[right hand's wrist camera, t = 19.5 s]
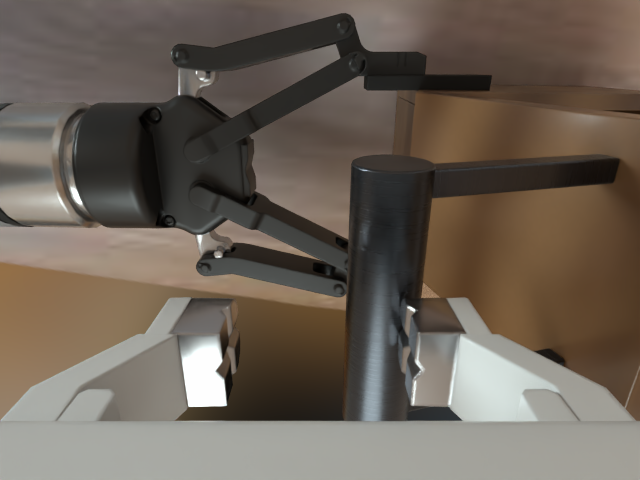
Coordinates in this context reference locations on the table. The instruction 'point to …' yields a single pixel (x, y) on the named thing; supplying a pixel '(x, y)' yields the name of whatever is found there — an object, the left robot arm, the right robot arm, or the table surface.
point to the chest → (534, 94)
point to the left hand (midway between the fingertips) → (470, 169)
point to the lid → (499, 241)
